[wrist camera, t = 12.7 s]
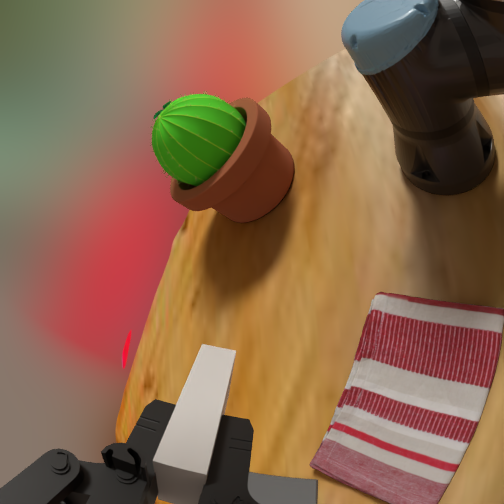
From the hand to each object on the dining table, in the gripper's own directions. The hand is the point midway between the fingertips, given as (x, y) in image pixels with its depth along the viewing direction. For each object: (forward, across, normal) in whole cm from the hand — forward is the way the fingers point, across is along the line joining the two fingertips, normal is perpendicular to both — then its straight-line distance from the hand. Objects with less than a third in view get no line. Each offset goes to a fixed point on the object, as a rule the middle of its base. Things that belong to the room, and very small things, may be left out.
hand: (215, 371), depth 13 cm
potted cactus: (+50, -2, +6) cm, 50 cm away
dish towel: (+12, +20, -11) cm, 26 cm away
